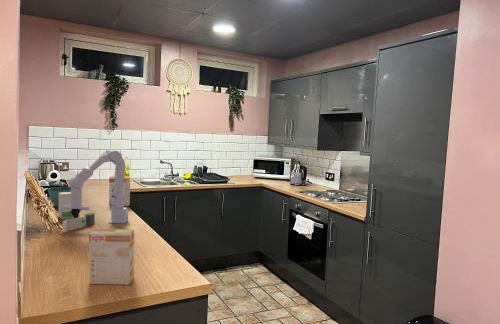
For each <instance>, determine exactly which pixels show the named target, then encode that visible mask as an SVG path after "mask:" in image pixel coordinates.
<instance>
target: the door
mask: <svg viewBox="0 0 500 324" xmlns="http://www.w3.org/2000/svg"><path fill="white" fill-rule="evenodd" d="M67 219H68V228H69V230H72V229H78V228H82V227H85V226H87V225H86V216H84V215H82V216H80V217H78V218H67Z"/></svg>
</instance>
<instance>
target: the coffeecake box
mask: <svg viewBox="0 0 500 324" xmlns="http://www.w3.org/2000/svg"><path fill="white" fill-rule="evenodd" d="M88 261H89V262H88V267H89V268H88V269H89V270H88V273H89V274H88V277H89V278H88V280H89V281H88V283H89V285H126V286H127V285H130V284H131V282H132V281H133V280H134V279H135V229H115V228H114V229H111V228H109V229H108V228H96V229H94V230H93V231H91V232H89V233H88Z"/></svg>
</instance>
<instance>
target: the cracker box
mask: <svg viewBox="0 0 500 324" xmlns="http://www.w3.org/2000/svg"><path fill="white" fill-rule="evenodd" d="M114 181H115V175H113V176H109V178H108V184H109V185H108V188H109V189H108V203H109V204H108V205H110V206H112V205H111V203H110V198H111V197H112V193H113V191H114ZM123 194H124V200H125V205H124V206H126V207H129V206H131V177H127V176H126V177H125V176H124V183H123Z"/></svg>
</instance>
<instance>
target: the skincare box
mask: <svg viewBox="0 0 500 324" xmlns="http://www.w3.org/2000/svg"><path fill="white" fill-rule="evenodd" d="M58 194H59V206H58V208H57V209H58V215H59V217H60V218H61V220H65V219H73V218H74V217H73V215H72V213H71V211H72V209H62V206H63V205H71V192H63V193H58ZM58 215H57V216H58ZM59 217H58V218H59ZM60 218H59V219H60Z"/></svg>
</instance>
